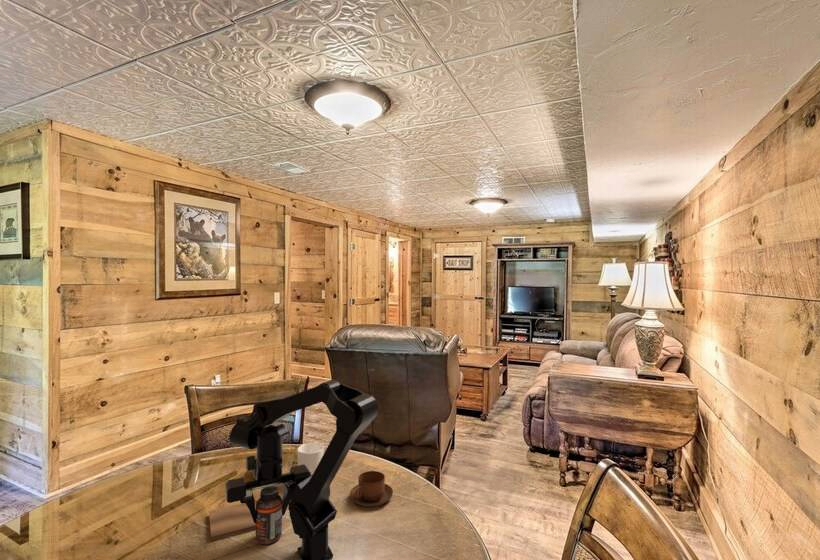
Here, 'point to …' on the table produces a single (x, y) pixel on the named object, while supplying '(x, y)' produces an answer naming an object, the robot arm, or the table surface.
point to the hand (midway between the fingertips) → (269, 518)
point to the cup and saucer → (371, 489)
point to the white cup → (310, 455)
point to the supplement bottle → (268, 516)
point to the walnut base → (230, 521)
